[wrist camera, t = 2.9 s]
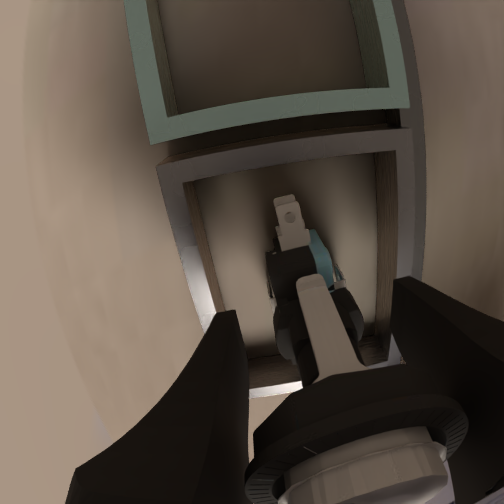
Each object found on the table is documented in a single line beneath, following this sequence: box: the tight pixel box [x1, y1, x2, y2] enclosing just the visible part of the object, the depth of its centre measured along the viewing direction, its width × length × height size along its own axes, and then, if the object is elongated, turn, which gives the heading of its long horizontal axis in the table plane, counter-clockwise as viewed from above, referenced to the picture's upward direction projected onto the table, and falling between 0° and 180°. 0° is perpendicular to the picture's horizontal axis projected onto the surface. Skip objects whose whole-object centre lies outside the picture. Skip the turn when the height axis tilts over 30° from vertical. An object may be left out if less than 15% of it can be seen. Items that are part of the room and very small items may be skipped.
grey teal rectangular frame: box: [124, 0, 426, 399], centre depth 10 cm, size 9×22×2 cm, turn 10°
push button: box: [244, 194, 469, 504], centre depth 9 cm, size 7×5×10 cm
